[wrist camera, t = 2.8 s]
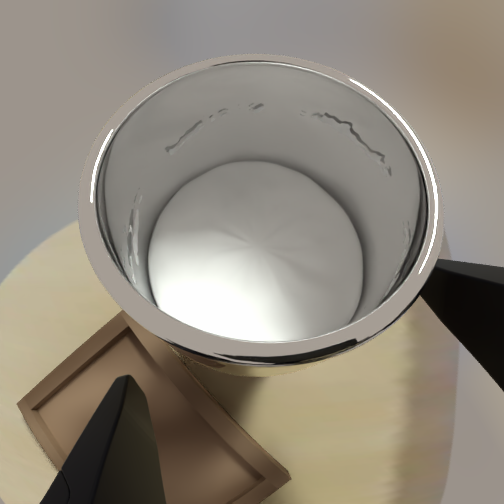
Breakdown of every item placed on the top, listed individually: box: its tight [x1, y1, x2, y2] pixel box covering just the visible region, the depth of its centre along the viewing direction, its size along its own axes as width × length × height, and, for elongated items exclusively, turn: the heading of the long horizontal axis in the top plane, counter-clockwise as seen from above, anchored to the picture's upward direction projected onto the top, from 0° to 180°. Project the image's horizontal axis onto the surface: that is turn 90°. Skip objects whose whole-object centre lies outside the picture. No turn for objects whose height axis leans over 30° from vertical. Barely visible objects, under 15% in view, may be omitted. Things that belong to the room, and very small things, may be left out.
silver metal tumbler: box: [78, 54, 444, 377], centre depth 12 cm, size 7×7×15 cm
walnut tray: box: [17, 310, 291, 504], centre depth 14 cm, size 14×12×2 cm
